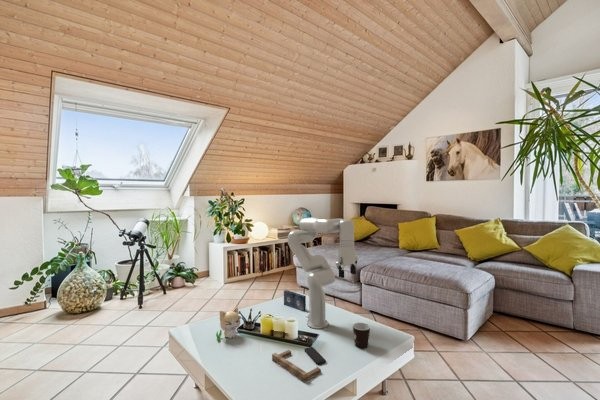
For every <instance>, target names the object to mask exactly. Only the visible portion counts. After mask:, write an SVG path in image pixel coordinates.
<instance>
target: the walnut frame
mask: <svg viewBox="0 0 600 400" xmlns="http://www.w3.org/2000/svg"><path fill="white" fill-rule="evenodd" d="M291 355H292V351H291V350H289V349H287V350H285V351H283V352H281V353H279V354H278V353H277V352H274V353H272V354H271V356H272V357H271V360H272V362H274V363H275V364H277V365H278V366H279V367H281V368H283V369H284V370H286V371H287V372H289V373H290V374H292V375H293V376H294V377H295V378H298V379H299V380H300V381H302V382H303V383H305V382H307V381H309V380H310V379H312V378H314V377H315V376H317V375H319V374H321V372H322V370H321V368H320V367H318V366H317V367H316V368H313V369H311V370H310V371H307V372H306V371H305V370H304V369H302V368H300V367H299V366H297V365H296V364H294V363H293V362H291V361H289V360H288V359H286V357H289V356H291Z"/></svg>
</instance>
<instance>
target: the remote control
mask: <svg viewBox="0 0 600 400" xmlns="http://www.w3.org/2000/svg"><path fill="white" fill-rule="evenodd" d="M303 351H304V352H305V353H306V355H308V358H310V359H311V360H312V362H313V363H314V364H315V365H316V366H322V365H326V364H327V360H326V359H325V357H323V356H322V355H321V354H320V353H319V352H318V351H317V349H316V348H314V347H313V346H310V347H305V348H304V350H303Z"/></svg>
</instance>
